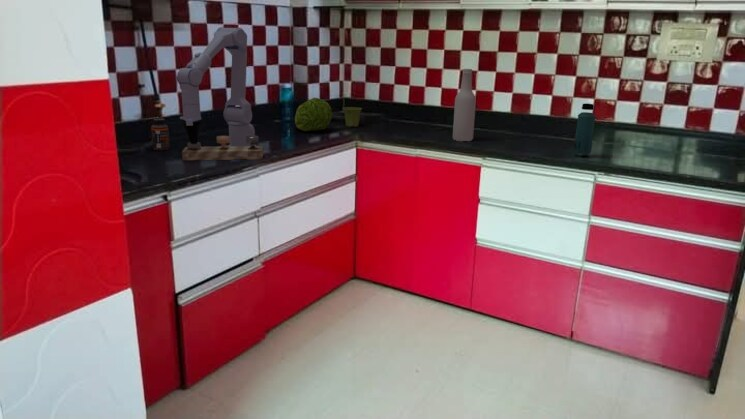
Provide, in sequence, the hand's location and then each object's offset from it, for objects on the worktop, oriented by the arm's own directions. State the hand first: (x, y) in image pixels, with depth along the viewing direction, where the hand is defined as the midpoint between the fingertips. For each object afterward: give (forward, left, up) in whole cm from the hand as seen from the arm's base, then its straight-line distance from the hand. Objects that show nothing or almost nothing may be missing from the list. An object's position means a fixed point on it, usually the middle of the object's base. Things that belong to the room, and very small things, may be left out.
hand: (193, 143), depth 196 cm
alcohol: (-98, +55, -5) cm, 113 cm away
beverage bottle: (-97, +106, -5) cm, 144 cm away
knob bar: (-7, +7, -5) cm, 11 cm away
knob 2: (-14, +14, -2) cm, 20 cm away
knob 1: (0, 0, -4) cm, 4 cm away
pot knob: (-7, +7, -2) cm, 10 cm away
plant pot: (-96, -4, -5) cm, 96 cm away
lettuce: (-73, -10, -5) cm, 74 cm away
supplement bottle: (-1, -21, -5) cm, 22 cm away
